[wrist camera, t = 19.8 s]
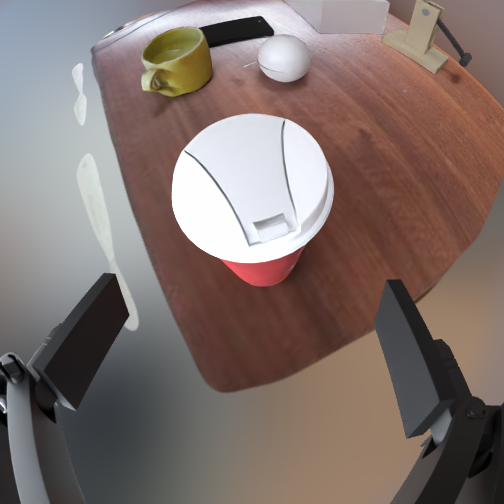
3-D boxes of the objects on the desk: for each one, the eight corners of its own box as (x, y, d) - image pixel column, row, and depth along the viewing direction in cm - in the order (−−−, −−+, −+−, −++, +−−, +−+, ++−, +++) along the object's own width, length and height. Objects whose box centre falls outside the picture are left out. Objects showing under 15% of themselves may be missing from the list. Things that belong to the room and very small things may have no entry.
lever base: (447, 62, 35) (465, 19, 22) (434, 74, 33) (455, 24, 21) (399, 33, 38) (411, -11, 26) (381, 42, 36) (392, -10, 24)
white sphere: (300, 61, 35) (301, 24, 28) (317, 88, 33) (322, 47, 26) (236, 71, 35) (230, 32, 28) (246, 99, 33) (240, 57, 26)
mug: (177, 49, 36) (168, 12, 26) (227, 70, 37) (227, 32, 27) (131, 100, 36) (109, 69, 26) (180, 126, 37) (167, 94, 27)
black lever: (466, 61, 30) (474, 58, 27) (460, 68, 29) (469, 64, 26) (424, 6, 26) (432, 1, 24) (415, 9, 25) (423, 3, 23)
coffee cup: (319, 282, 25) (369, 217, 11) (235, 311, 25) (182, 281, 11) (288, 204, 28) (295, 90, 14) (211, 230, 28) (153, 134, 13)
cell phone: (173, 38, 40) (172, 35, 40) (261, 19, 40) (261, 15, 39) (175, 57, 38) (174, 53, 37) (275, 35, 38) (274, 31, 37)
